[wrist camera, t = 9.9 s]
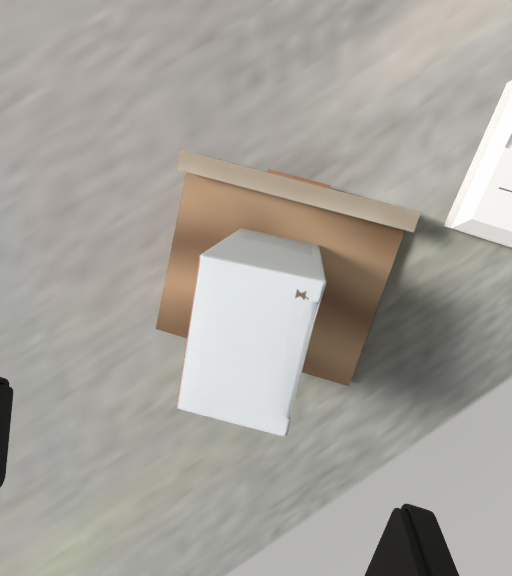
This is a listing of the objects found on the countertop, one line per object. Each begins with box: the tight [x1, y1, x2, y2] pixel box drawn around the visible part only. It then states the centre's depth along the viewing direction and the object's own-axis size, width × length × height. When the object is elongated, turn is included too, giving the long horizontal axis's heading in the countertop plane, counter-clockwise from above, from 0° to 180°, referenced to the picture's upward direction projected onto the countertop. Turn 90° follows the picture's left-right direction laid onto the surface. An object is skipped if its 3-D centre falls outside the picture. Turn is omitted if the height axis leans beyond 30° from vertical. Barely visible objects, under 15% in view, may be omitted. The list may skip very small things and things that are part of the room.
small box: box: [177, 228, 326, 437], centre depth 22 cm, size 8×6×10 cm
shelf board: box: [156, 150, 421, 386], centre depth 26 cm, size 13×15×3 cm
